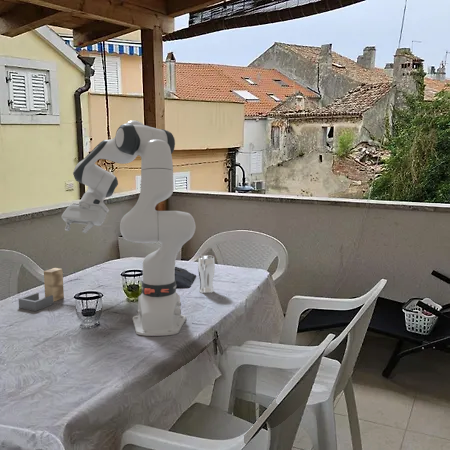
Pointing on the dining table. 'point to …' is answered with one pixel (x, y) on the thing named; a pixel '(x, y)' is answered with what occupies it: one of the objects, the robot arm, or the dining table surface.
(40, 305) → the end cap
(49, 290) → the tan rectangular block
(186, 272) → the dark slate chunk
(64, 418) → the dining table surface
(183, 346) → the dining table surface
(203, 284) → the beer glass
